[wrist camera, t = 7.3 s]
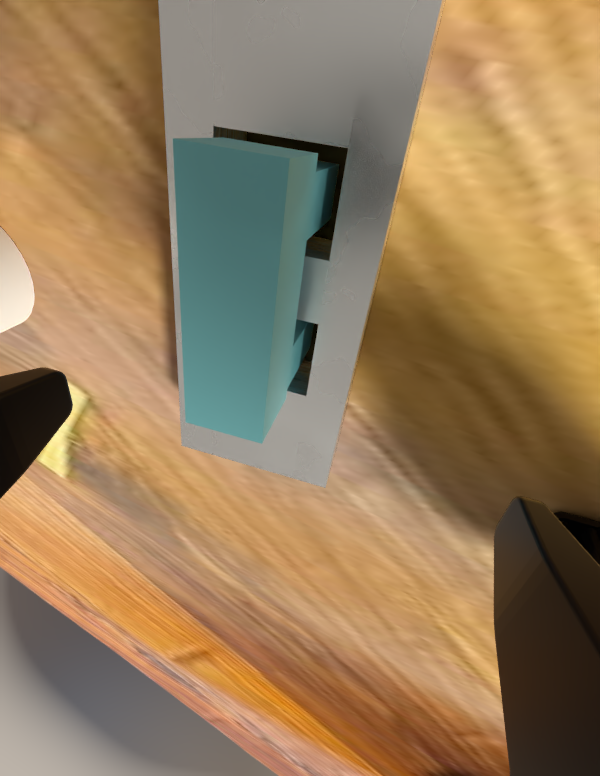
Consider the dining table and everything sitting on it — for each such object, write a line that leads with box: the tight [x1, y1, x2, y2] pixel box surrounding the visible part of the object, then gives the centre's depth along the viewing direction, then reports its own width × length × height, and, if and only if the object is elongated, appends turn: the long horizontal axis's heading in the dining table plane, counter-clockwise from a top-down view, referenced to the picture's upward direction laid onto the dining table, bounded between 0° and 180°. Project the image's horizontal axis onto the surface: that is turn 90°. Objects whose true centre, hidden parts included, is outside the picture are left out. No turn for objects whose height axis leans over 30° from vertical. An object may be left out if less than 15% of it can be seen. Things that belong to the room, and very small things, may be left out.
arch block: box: [173, 137, 339, 444], centre depth 15 cm, size 9×3×7 cm, turn 173°
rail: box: [158, 0, 445, 488], centre depth 17 cm, size 20×8×3 cm, turn 173°
